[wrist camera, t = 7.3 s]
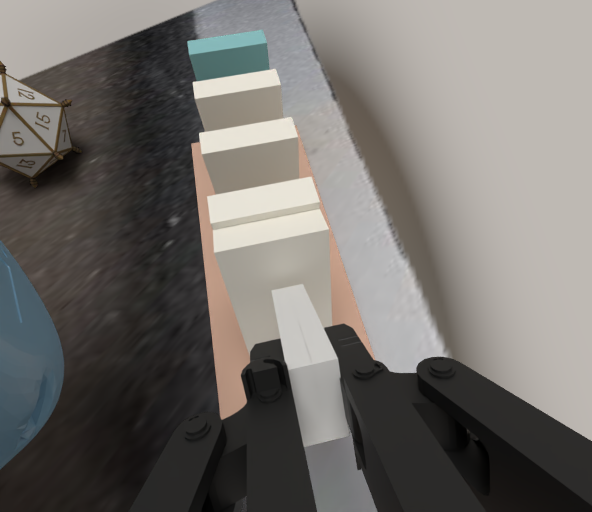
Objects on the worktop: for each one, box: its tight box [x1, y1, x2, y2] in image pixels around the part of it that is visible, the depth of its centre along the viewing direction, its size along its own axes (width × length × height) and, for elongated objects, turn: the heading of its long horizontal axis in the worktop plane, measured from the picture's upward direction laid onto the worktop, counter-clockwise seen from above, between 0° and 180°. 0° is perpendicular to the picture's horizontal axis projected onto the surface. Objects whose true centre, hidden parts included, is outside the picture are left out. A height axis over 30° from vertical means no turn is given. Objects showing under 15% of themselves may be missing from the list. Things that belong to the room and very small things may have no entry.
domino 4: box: [207, 177, 320, 230], centre depth 20 cm, size 2×5×10 cm, turn 103°
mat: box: [192, 125, 375, 420], centre depth 27 cm, size 24×10×1 cm, turn 13°
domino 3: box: [199, 117, 299, 195], centre depth 22 cm, size 2×5×10 cm, turn 102°
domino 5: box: [213, 209, 332, 356], centre depth 19 cm, size 2×5×10 cm, turn 102°
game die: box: [0, 61, 82, 188], centre depth 29 cm, size 9×8×10 cm
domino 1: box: [188, 30, 270, 81], centre depth 27 cm, size 2×5×10 cm, turn 102°
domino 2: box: [193, 69, 283, 132], centre depth 25 cm, size 2×5×10 cm, turn 103°
